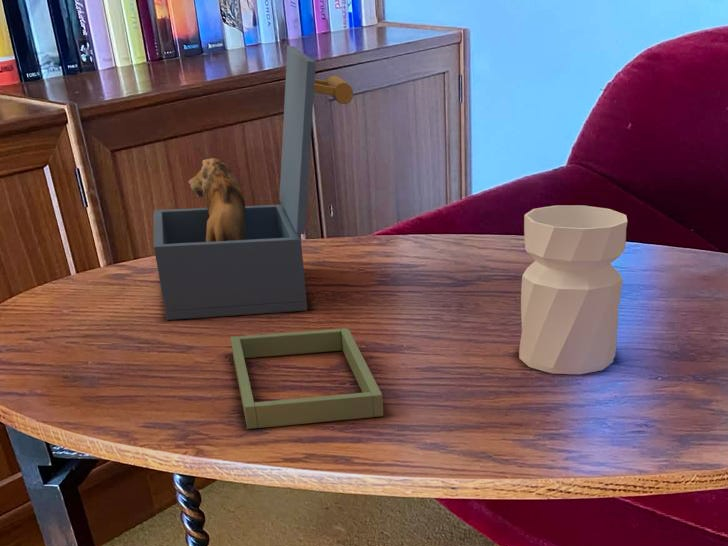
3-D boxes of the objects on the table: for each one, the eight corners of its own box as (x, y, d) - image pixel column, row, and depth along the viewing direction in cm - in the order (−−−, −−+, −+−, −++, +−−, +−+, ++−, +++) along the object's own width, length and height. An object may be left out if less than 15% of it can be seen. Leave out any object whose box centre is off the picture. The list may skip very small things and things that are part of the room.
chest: (166, 320, 94) (153, 246, 90) (164, 276, 107) (153, 210, 103) (307, 310, 97) (301, 239, 93) (289, 269, 110) (283, 204, 106)
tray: (247, 429, 74) (244, 407, 72) (232, 356, 86) (230, 336, 85) (383, 416, 76) (382, 394, 75) (349, 347, 89) (348, 327, 88)
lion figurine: (196, 239, 106) (183, 153, 100) (245, 236, 108) (235, 151, 101) (212, 300, 97) (198, 210, 90) (265, 296, 98) (255, 206, 92)
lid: (307, 60, 85) (364, 70, 87) (287, 45, 97) (338, 54, 99) (296, 233, 93) (349, 240, 95) (279, 199, 105) (326, 205, 107)
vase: (551, 381, 83) (559, 233, 75) (501, 350, 89) (505, 210, 82) (634, 365, 86) (650, 222, 79) (580, 336, 92) (590, 201, 85)
